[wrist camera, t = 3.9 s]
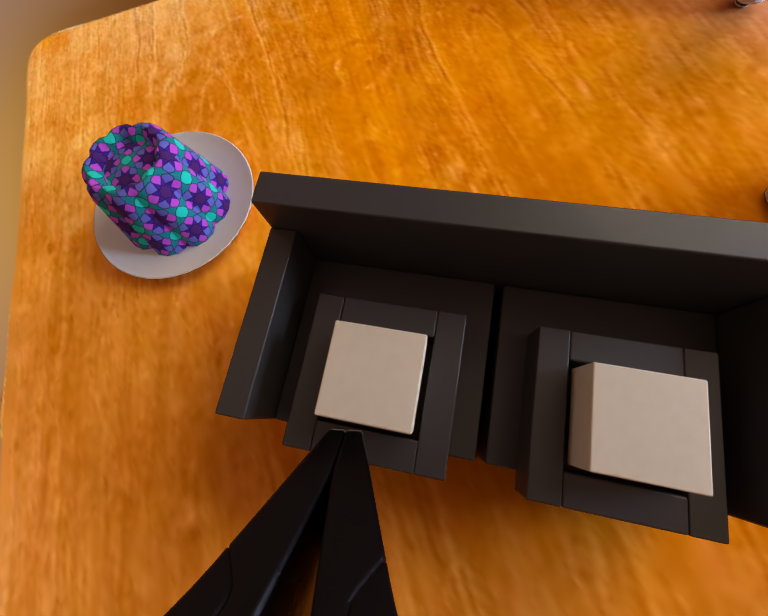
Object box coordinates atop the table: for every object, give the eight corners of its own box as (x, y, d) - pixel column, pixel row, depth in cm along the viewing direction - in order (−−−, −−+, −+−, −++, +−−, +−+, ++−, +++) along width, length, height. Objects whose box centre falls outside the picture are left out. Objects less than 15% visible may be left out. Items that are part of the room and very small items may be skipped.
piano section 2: (460, 464, 20) (479, 489, 13) (304, 431, 21) (251, 438, 14) (479, 312, 22) (503, 268, 15) (337, 290, 23) (304, 242, 17)
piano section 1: (648, 505, 18) (773, 555, 12) (468, 466, 20) (490, 491, 13) (648, 337, 20) (751, 301, 14) (486, 313, 22) (512, 270, 15)
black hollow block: (674, 494, 18) (950, 581, 9) (288, 414, 21) (180, 413, 12) (670, 317, 21) (882, 233, 11) (325, 268, 24) (259, 170, 14)
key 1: (672, 485, 13) (714, 497, 11) (566, 463, 13) (589, 471, 12) (670, 384, 14) (708, 380, 12) (571, 368, 14) (593, 361, 13)
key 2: (413, 432, 14) (411, 435, 12) (326, 414, 15) (313, 414, 13) (427, 344, 15) (427, 334, 13) (345, 330, 16) (335, 319, 14)
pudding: (72, 223, 27) (-8, 179, 22) (186, 114, 29) (136, 51, 24) (171, 317, 24) (105, 291, 19) (291, 188, 26) (260, 134, 21)
